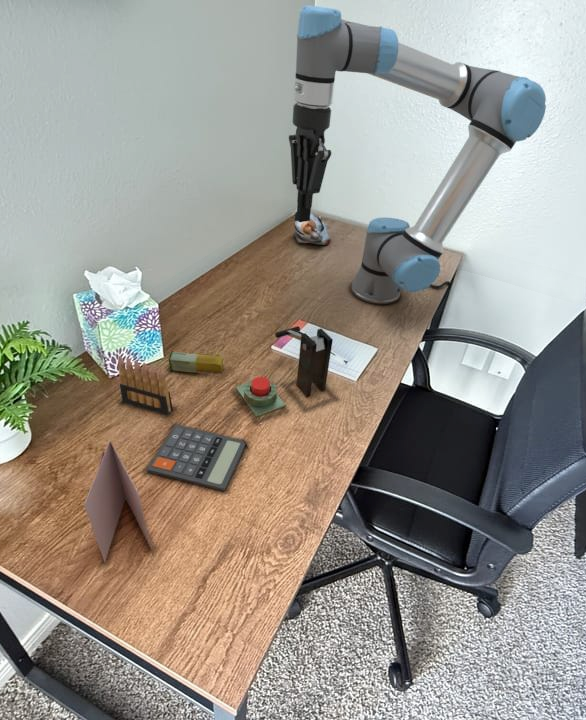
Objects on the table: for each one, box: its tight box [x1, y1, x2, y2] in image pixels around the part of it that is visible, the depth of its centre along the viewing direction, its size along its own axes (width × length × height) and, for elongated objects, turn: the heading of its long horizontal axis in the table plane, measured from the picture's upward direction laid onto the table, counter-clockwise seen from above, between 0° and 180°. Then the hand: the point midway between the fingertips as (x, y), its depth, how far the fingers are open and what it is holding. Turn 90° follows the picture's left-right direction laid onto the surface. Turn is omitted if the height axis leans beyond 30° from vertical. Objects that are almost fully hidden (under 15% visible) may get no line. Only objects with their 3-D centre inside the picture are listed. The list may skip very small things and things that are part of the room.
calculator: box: [146, 424, 247, 492], centre depth 88 cm, size 12×1×15 cm
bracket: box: [296, 328, 334, 398], centre depth 101 cm, size 9×8×16 cm
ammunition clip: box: [117, 355, 174, 416], centre depth 94 cm, size 11×2×12 cm, turn 75°
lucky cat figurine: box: [293, 208, 332, 246], centre depth 165 cm, size 15×12×14 cm
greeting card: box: [83, 440, 153, 562], centre depth 71 cm, size 11×7×15 cm, turn 3°
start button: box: [251, 376, 271, 396], centre depth 99 cm, size 4×4×2 cm
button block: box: [235, 379, 287, 418], centre depth 100 cm, size 10×7×4 cm
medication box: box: [168, 351, 224, 374], centre depth 106 cm, size 12×3×4 cm, turn 87°
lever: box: [274, 325, 325, 352], centre depth 102 cm, size 14×6×2 cm, turn 33°
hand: (303, 220), depth 106 cm, fingers closed
